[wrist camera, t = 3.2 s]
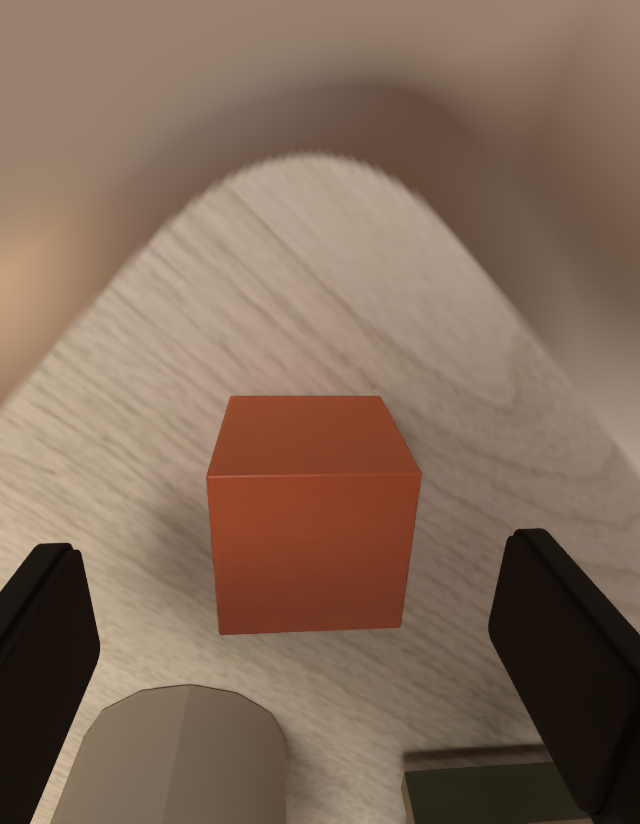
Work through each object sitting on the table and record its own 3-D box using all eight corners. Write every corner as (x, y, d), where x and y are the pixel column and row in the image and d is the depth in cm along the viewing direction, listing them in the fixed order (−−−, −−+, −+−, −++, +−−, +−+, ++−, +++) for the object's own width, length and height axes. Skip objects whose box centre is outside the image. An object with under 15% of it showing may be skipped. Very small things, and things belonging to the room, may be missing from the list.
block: (229, 395, 13) (205, 475, 9) (380, 395, 13) (423, 472, 9) (236, 521, 15) (218, 636, 11) (369, 518, 15) (401, 628, 11)
